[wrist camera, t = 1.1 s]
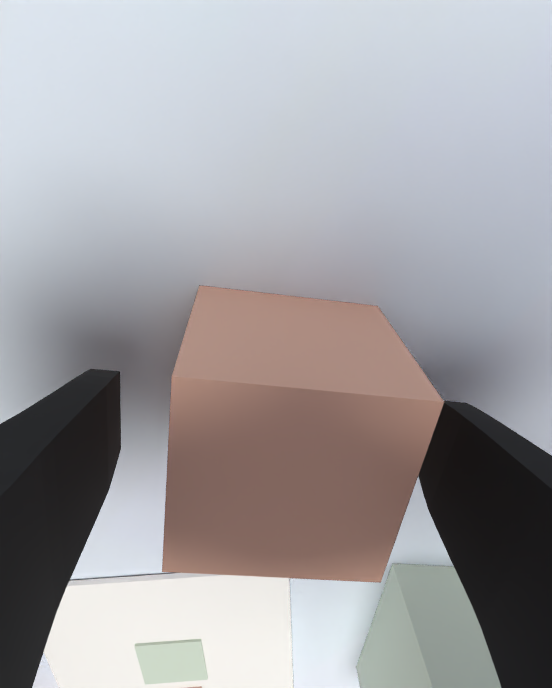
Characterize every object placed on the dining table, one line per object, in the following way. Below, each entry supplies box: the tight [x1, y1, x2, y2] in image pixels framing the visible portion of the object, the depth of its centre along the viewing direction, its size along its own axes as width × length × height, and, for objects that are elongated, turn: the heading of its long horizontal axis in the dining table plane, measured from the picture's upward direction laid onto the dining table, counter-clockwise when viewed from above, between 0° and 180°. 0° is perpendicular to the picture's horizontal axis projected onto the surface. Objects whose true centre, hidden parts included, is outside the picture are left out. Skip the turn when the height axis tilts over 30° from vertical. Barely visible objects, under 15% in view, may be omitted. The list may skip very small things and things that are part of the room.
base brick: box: [356, 563, 501, 688], centre depth 16 cm, size 6×6×4 cm
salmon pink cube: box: [162, 285, 444, 582], centre depth 10 cm, size 4×4×4 cm
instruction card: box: [44, 573, 293, 688], centre depth 18 cm, size 9×12×1 cm
